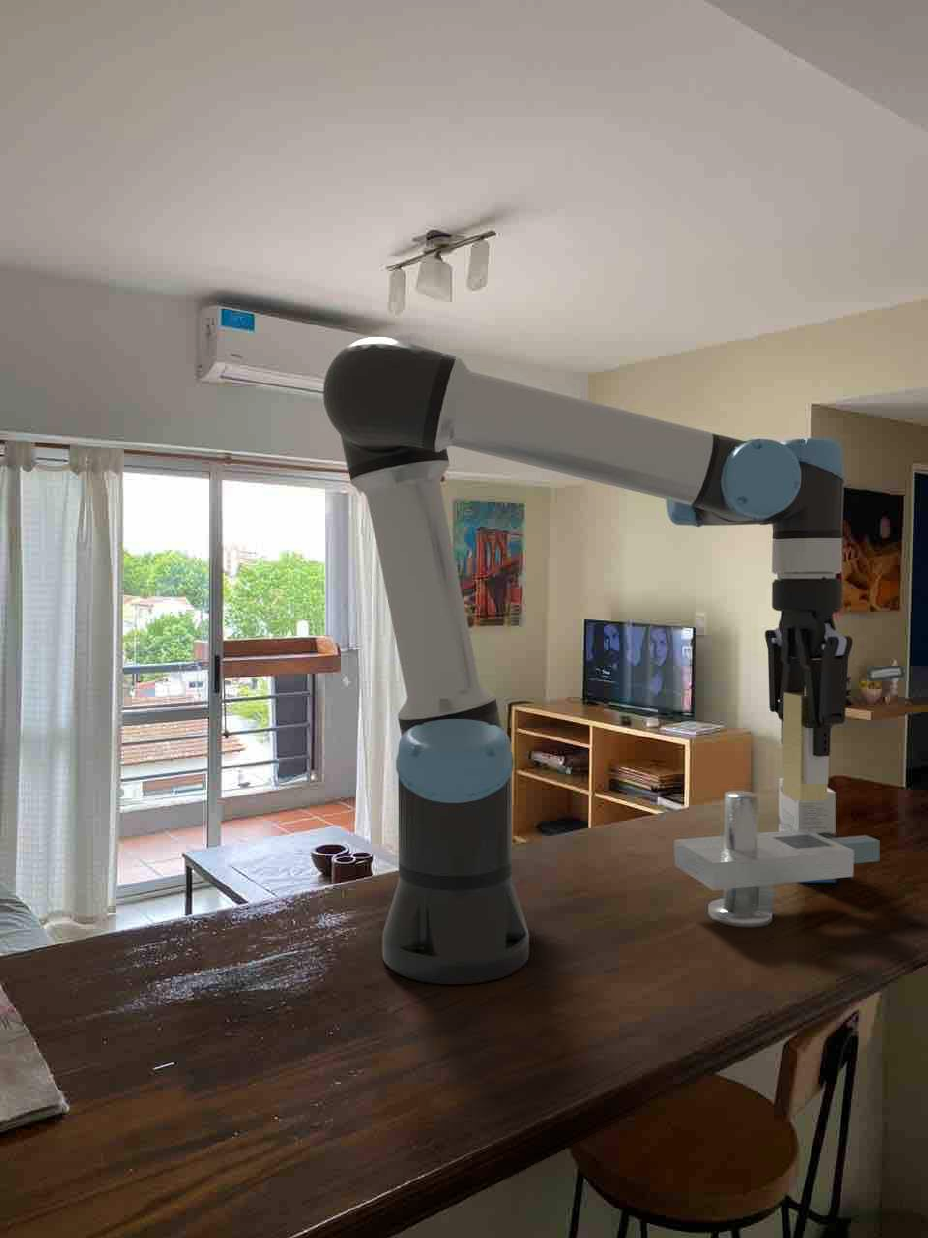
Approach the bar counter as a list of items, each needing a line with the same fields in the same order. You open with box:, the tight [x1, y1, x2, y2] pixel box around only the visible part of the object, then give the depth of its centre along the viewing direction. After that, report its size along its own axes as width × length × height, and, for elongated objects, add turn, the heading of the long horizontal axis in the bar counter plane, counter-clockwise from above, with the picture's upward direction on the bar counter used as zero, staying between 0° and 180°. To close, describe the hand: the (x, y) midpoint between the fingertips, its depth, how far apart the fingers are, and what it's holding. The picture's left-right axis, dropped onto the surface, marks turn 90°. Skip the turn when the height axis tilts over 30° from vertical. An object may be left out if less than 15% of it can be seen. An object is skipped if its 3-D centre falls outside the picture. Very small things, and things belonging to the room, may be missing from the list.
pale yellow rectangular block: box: [782, 691, 829, 802], centre depth 108 cm, size 4×4×12 cm
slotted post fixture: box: [673, 790, 881, 928], centre depth 108 cm, size 24×9×14 cm, turn 104°
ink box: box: [778, 777, 837, 884], centre depth 122 cm, size 9×5×12 cm, turn 179°
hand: (804, 779), depth 108 cm, fingers closed on pale yellow rectangular block, 3 cm apart
